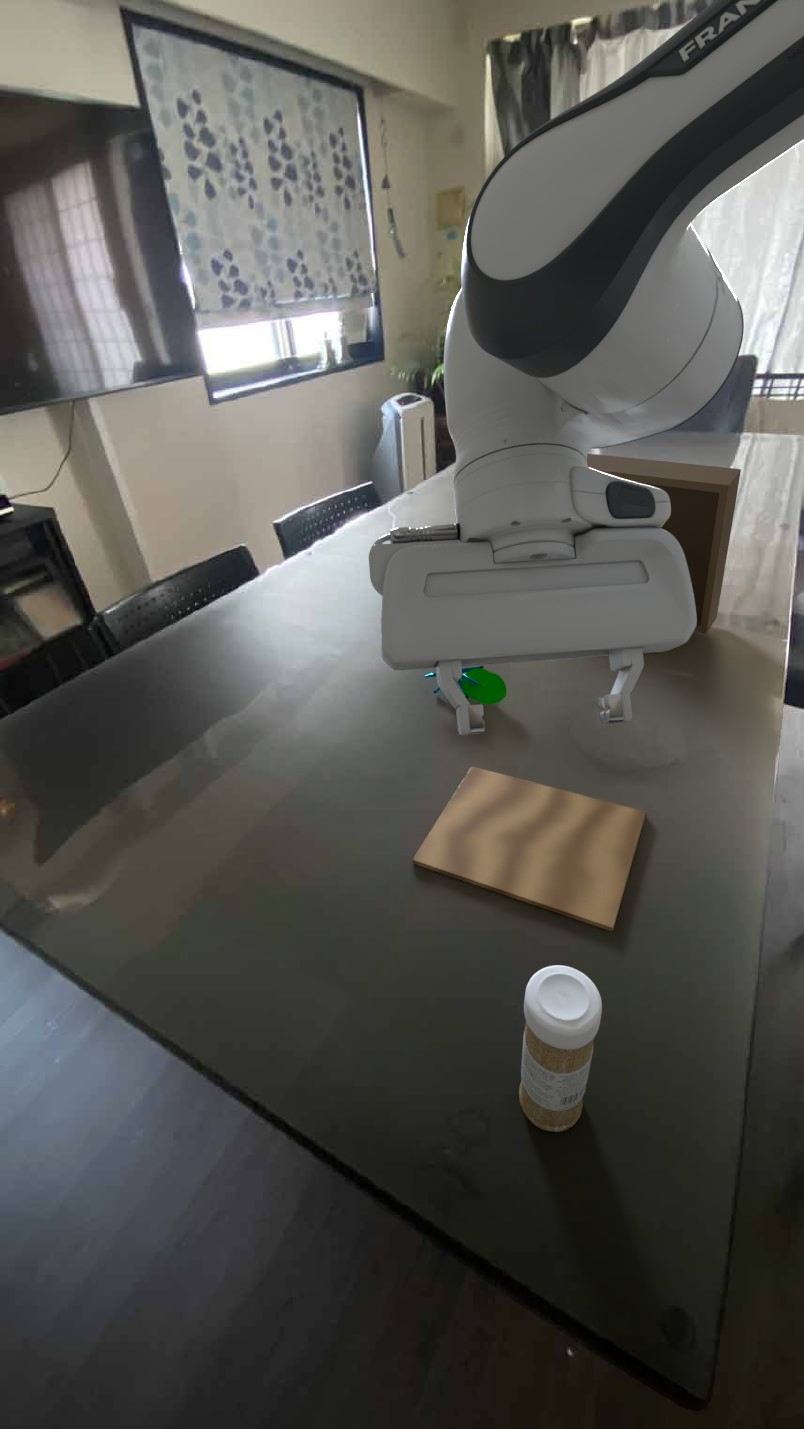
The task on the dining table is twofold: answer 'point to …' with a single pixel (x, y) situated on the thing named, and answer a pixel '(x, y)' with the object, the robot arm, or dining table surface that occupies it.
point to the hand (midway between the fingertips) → (544, 728)
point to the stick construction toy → (480, 685)
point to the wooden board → (536, 845)
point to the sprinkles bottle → (557, 1045)
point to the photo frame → (689, 517)
